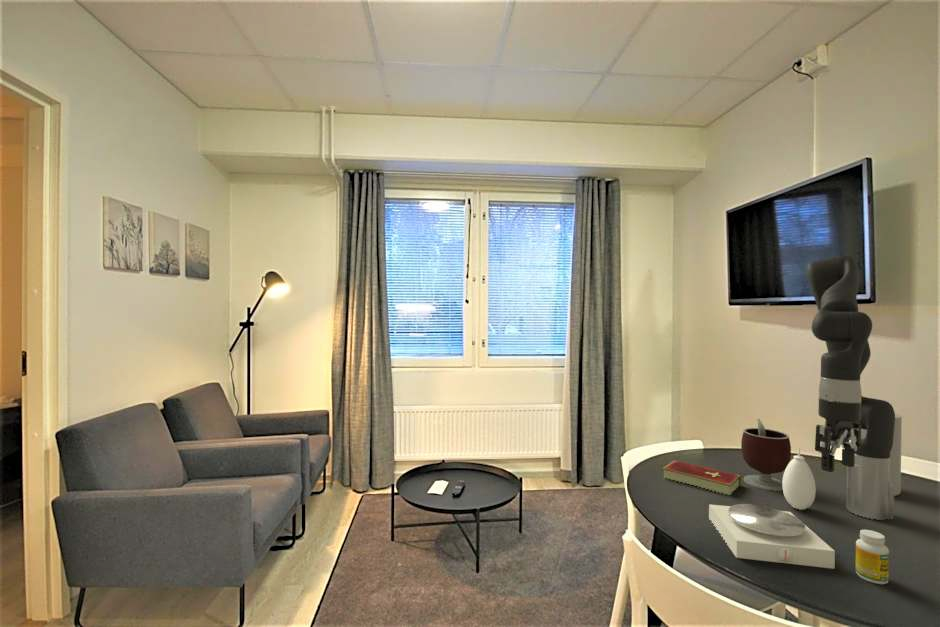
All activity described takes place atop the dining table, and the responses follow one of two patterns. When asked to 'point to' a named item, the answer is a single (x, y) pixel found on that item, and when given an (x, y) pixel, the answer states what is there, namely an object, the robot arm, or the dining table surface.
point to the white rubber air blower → (799, 483)
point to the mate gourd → (765, 455)
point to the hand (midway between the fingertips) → (838, 468)
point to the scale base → (771, 543)
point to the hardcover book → (702, 477)
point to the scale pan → (767, 520)
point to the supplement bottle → (872, 557)
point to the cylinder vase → (894, 455)
